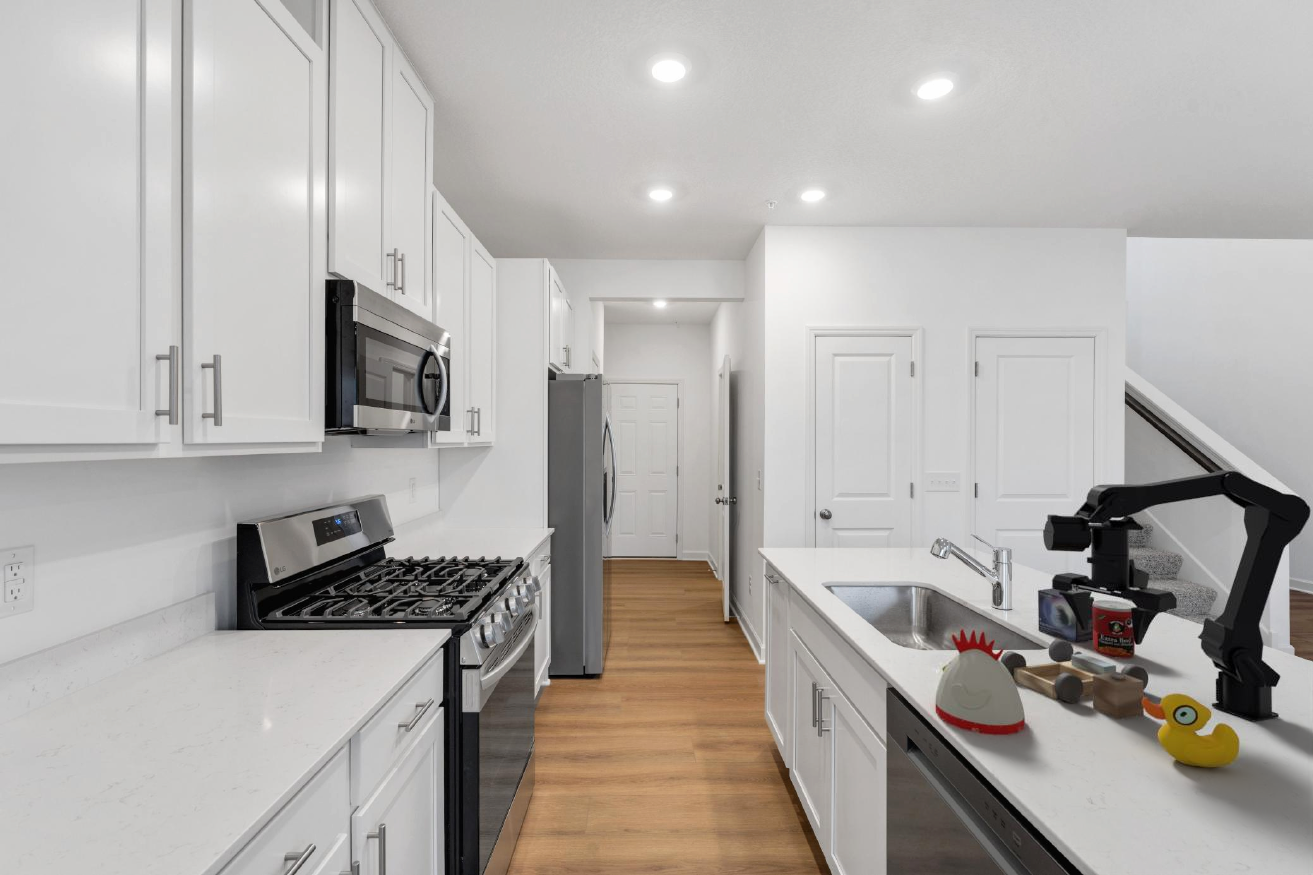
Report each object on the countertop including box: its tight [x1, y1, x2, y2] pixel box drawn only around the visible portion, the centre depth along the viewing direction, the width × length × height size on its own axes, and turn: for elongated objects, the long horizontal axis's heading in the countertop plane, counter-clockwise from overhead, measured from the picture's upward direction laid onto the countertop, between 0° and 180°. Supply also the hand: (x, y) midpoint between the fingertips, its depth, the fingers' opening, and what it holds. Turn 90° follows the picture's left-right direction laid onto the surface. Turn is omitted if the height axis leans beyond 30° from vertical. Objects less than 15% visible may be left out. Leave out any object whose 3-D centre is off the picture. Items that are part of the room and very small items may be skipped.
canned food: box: [1092, 599, 1136, 659], centre depth 141 cm, size 8×8×11 cm
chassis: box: [1000, 650, 1149, 704], centre depth 123 cm, size 14×21×5 cm
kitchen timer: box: [935, 628, 1026, 736], centre depth 109 cm, size 14×14×15 cm
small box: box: [1037, 587, 1095, 644], centre depth 154 cm, size 11×6×10 cm, turn 17°
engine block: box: [1092, 671, 1145, 720], centre depth 111 cm, size 4×6×7 cm
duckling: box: [1142, 693, 1240, 768], centre depth 93 cm, size 11×5×10 cm, turn 66°
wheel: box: [1048, 638, 1075, 663], centre depth 135 cm, size 2×5×5 cm, turn 106°
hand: (1110, 636), depth 116 cm, fingers open, 9 cm apart
